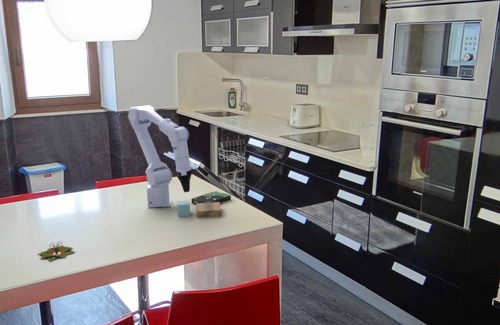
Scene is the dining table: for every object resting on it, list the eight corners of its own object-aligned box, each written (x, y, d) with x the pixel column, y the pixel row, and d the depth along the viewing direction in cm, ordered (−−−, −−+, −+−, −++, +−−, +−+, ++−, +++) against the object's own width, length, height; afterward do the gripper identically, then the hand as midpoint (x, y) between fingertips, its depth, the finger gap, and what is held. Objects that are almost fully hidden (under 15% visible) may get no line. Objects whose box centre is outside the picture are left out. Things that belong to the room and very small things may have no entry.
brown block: (196, 218, 184) (196, 211, 183) (196, 210, 193) (195, 203, 193) (221, 217, 185) (221, 210, 184) (219, 208, 195) (219, 202, 194)
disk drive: (207, 209, 194) (231, 200, 205) (206, 203, 194) (231, 194, 204) (191, 204, 201) (215, 196, 212) (190, 198, 200) (215, 190, 211)
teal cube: (177, 216, 185) (177, 205, 184) (178, 212, 190) (177, 201, 189) (190, 215, 186) (189, 204, 185) (190, 211, 191) (189, 200, 189)
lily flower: (65, 244, 161) (63, 232, 160) (82, 253, 153) (81, 241, 152) (30, 255, 152) (29, 243, 151) (47, 266, 145) (45, 253, 144)
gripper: (191, 157, 178) (197, 191, 179) (191, 154, 192) (196, 185, 194) (173, 160, 177) (179, 194, 179) (174, 156, 191) (179, 188, 193)
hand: (187, 190), depth 186 cm, fingers open, 7 cm apart
